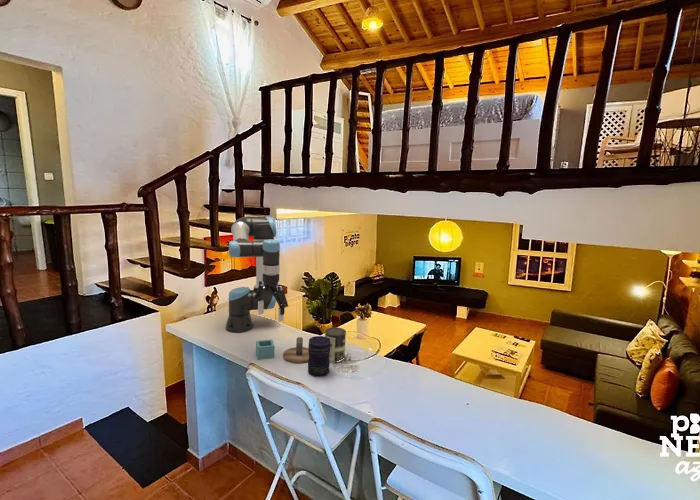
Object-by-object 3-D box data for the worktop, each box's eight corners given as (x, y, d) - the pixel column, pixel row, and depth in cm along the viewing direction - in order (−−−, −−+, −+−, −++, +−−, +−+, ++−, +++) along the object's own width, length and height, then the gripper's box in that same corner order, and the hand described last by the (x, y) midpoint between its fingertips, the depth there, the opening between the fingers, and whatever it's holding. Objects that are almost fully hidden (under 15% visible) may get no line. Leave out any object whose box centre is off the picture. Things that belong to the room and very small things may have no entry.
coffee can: (345, 354, 180) (346, 327, 177) (344, 363, 169) (345, 336, 167) (324, 352, 180) (325, 326, 177) (322, 362, 170) (323, 334, 167)
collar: (255, 352, 177) (255, 340, 176) (272, 350, 180) (272, 339, 179) (257, 359, 169) (257, 347, 168) (274, 357, 172) (274, 345, 171)
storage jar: (333, 371, 161) (335, 341, 159) (317, 379, 154) (318, 347, 152) (319, 363, 168) (320, 334, 166) (303, 370, 161) (303, 339, 158)
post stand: (280, 350, 180) (280, 333, 178) (311, 346, 186) (311, 330, 184) (286, 365, 165) (286, 347, 164) (319, 361, 171) (319, 343, 169)
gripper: (246, 270, 167) (246, 313, 170) (284, 280, 153) (283, 326, 156) (259, 267, 173) (258, 309, 176) (296, 276, 159) (295, 321, 163)
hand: (270, 317), depth 166 cm, fingers open, 13 cm apart
